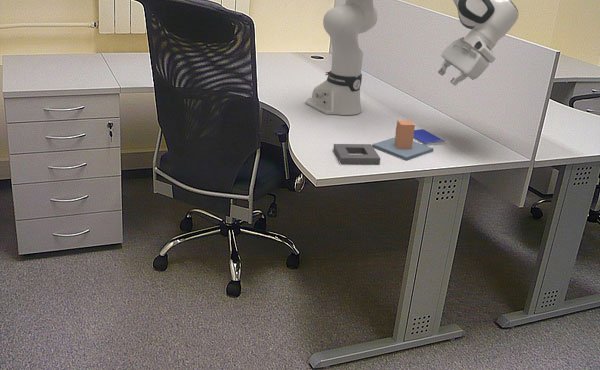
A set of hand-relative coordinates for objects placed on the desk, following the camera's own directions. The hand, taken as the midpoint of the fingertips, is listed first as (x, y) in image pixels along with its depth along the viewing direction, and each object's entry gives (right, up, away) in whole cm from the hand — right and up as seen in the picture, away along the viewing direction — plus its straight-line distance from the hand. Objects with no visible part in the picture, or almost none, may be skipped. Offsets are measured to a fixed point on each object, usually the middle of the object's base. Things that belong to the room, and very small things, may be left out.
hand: (446, 78), depth 208 cm
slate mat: (-13, -22, +3) cm, 26 cm away
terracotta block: (-13, -21, +2) cm, 25 cm away
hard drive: (-4, -19, +14) cm, 24 cm away
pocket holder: (-29, -25, -6) cm, 39 cm away
